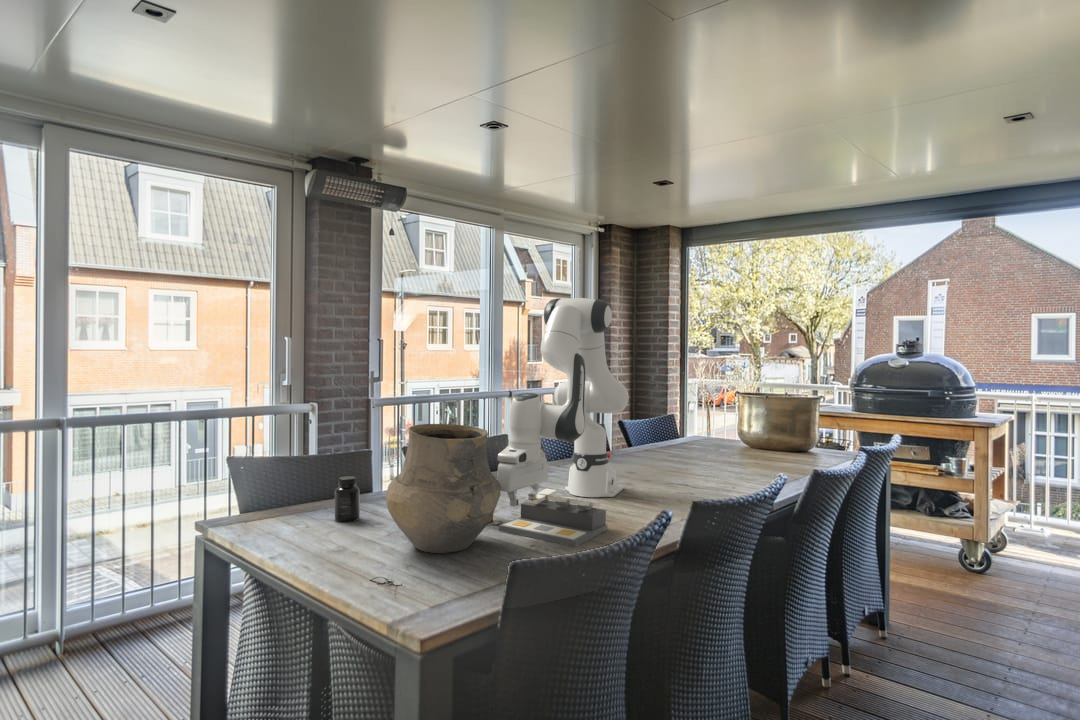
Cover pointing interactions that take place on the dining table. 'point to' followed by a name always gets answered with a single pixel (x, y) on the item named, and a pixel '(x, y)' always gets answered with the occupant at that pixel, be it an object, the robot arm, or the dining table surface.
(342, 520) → the supplement bottle
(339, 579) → the dining table surface
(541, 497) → the switch
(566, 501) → the switch
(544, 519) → the switch unit
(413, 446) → the ceramic pot
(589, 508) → the switch
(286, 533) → the dining table surface
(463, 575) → the dining table surface
